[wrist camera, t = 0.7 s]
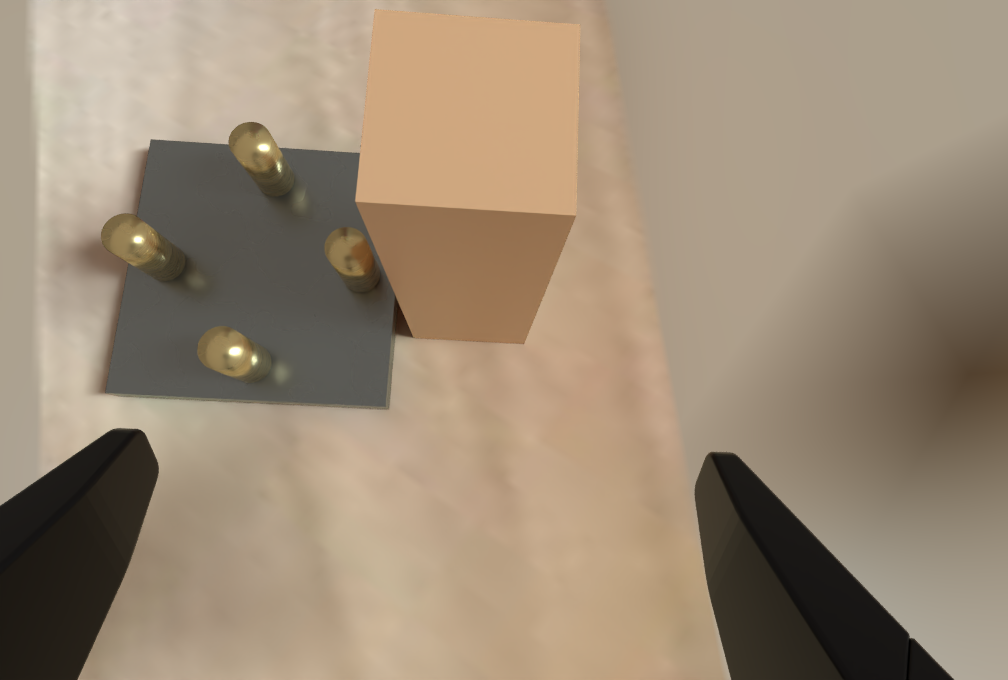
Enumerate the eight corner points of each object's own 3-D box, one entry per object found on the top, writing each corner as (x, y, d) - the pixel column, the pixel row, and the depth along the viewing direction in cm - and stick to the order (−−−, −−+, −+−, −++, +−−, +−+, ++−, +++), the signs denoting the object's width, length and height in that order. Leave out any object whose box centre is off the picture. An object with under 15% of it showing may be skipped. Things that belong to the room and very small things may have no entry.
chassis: (389, 409, 25) (373, 397, 21) (119, 396, 24) (52, 381, 20) (409, 167, 27) (398, 115, 23) (162, 151, 26) (109, 96, 22)
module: (524, 343, 25) (576, 215, 13) (413, 337, 25) (355, 201, 13) (528, 240, 26) (580, 24, 14) (421, 233, 26) (374, 9, 14)
